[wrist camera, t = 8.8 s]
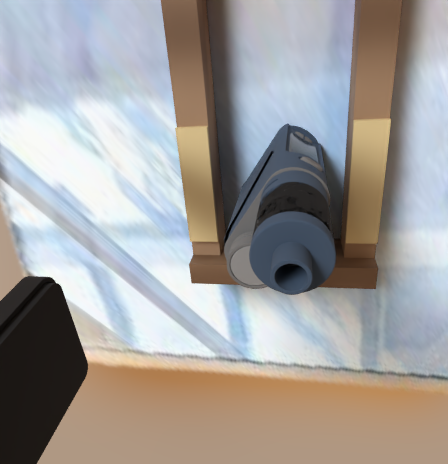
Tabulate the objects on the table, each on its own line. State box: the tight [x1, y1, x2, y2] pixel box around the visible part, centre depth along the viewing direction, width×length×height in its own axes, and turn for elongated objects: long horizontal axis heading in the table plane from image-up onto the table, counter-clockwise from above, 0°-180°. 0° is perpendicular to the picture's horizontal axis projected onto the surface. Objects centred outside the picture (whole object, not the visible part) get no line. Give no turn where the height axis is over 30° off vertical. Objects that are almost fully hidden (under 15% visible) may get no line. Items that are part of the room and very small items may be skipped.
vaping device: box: [224, 124, 336, 295], centre depth 16 cm, size 3×5×12 cm, turn 150°
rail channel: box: [161, 0, 402, 289], centre depth 17 cm, size 24×10×3 cm, turn 4°
